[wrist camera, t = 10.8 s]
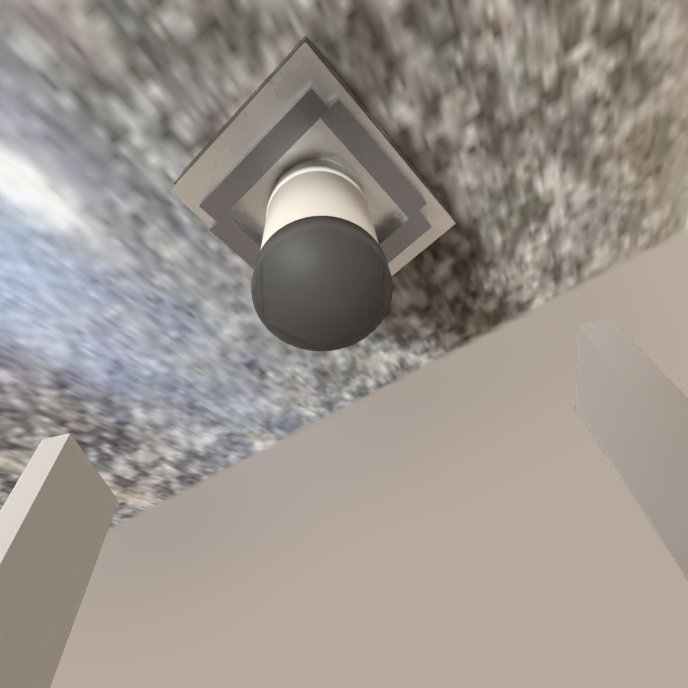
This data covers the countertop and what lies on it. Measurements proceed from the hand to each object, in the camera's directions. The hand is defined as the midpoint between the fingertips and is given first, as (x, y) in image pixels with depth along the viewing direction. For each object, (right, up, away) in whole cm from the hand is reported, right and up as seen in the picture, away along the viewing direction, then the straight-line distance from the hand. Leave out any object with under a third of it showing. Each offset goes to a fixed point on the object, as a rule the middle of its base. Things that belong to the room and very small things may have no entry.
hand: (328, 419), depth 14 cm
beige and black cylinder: (-1, +9, +15) cm, 18 cm away
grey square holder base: (-1, +13, +20) cm, 24 cm away
